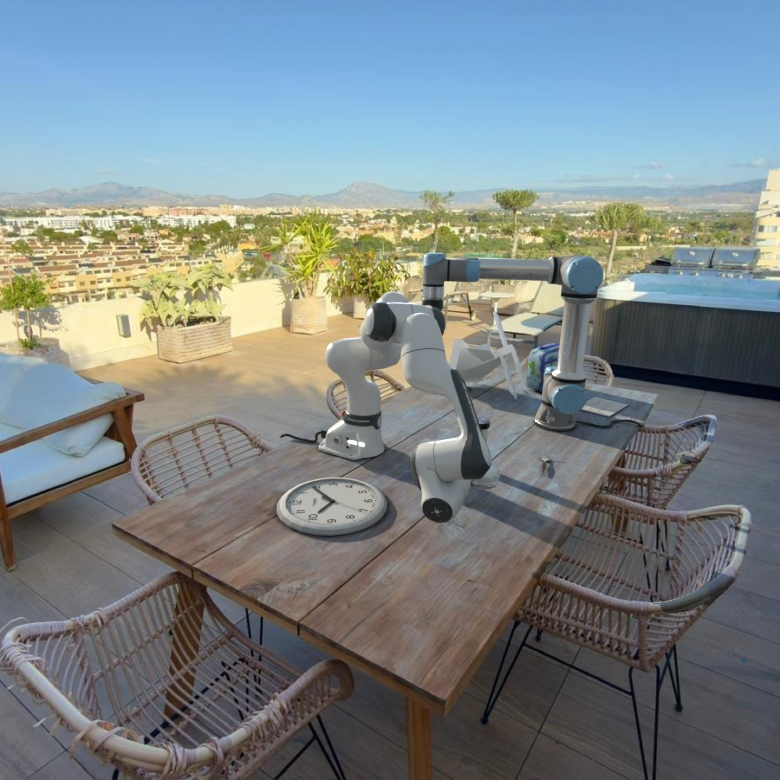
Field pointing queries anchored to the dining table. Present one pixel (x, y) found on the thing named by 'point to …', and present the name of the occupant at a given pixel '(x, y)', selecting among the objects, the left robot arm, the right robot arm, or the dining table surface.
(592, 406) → the invitation card
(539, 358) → the lunch box
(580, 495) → the dining table surface
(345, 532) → the wall clock
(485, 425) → the lid
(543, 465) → the fork
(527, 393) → the white plastic object
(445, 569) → the dining table surface
